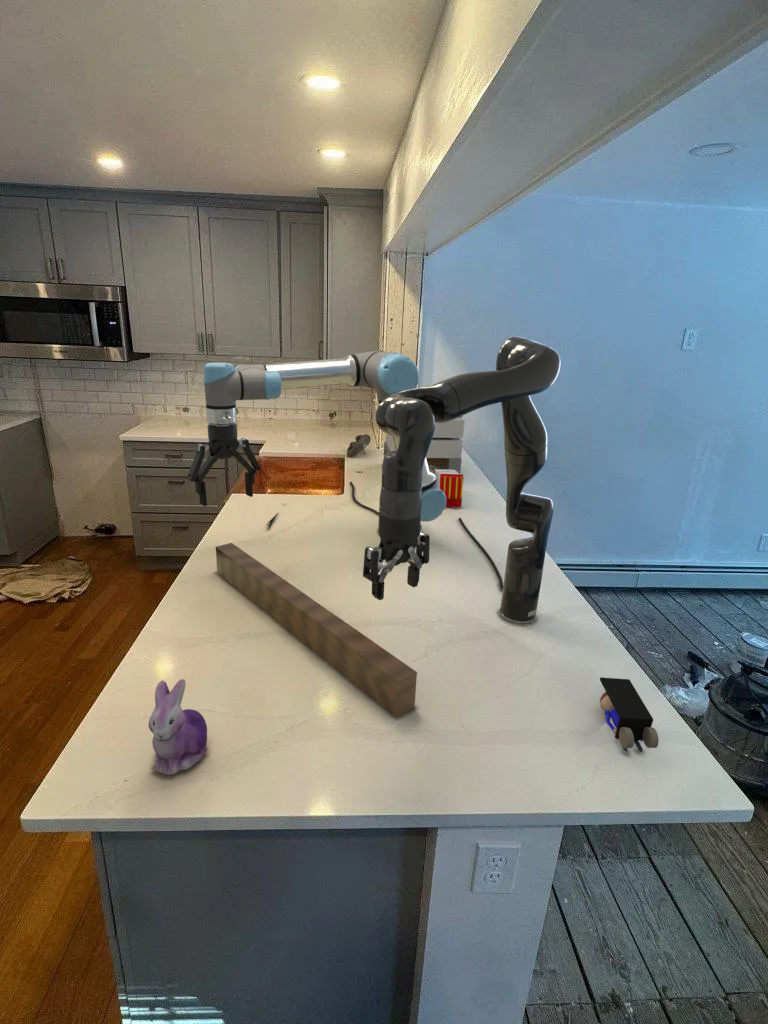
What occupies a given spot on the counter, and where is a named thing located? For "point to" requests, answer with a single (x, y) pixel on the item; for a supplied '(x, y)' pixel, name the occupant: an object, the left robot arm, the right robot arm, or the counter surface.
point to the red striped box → (450, 486)
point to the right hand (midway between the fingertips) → (395, 591)
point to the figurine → (176, 730)
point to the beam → (322, 631)
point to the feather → (271, 521)
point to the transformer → (441, 445)
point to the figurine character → (627, 714)
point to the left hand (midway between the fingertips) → (227, 500)
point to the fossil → (358, 445)
